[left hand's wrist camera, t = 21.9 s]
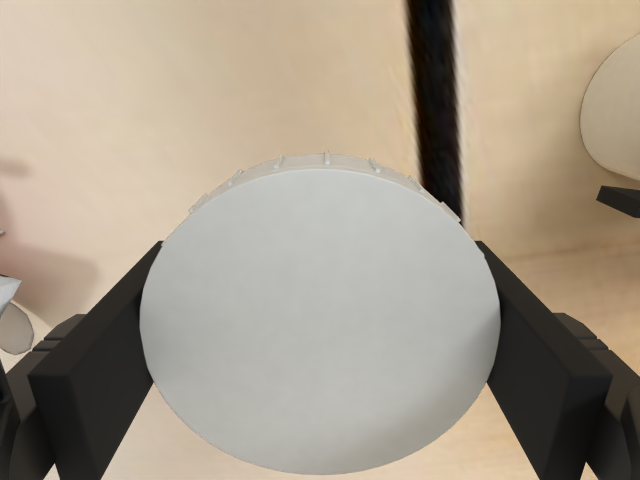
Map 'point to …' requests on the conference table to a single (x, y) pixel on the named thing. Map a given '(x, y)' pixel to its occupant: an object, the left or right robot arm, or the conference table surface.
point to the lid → (320, 316)
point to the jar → (615, 112)
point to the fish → (13, 319)
